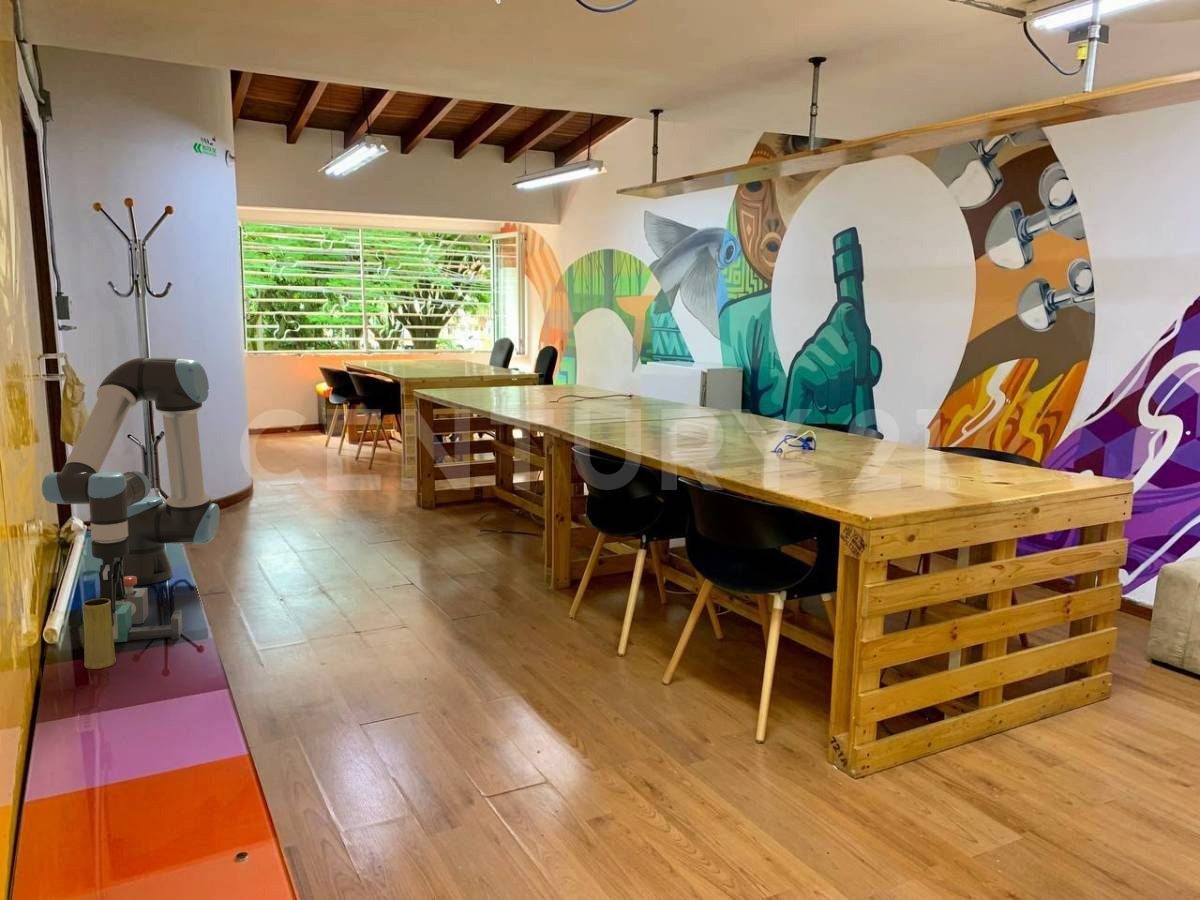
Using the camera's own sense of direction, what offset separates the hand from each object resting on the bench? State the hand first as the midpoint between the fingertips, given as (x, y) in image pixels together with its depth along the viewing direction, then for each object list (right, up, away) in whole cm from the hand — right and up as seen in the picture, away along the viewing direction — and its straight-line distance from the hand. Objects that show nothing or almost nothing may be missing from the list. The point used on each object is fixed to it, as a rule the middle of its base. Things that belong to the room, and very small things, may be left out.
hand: (114, 632), depth 201 cm
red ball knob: (-3, +6, +12) cm, 14 cm away
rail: (+4, -2, +2) cm, 5 cm away
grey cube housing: (-3, +1, +13) cm, 13 cm away
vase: (+5, -4, -14) cm, 15 cm away
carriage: (0, -2, 0) cm, 2 cm away
